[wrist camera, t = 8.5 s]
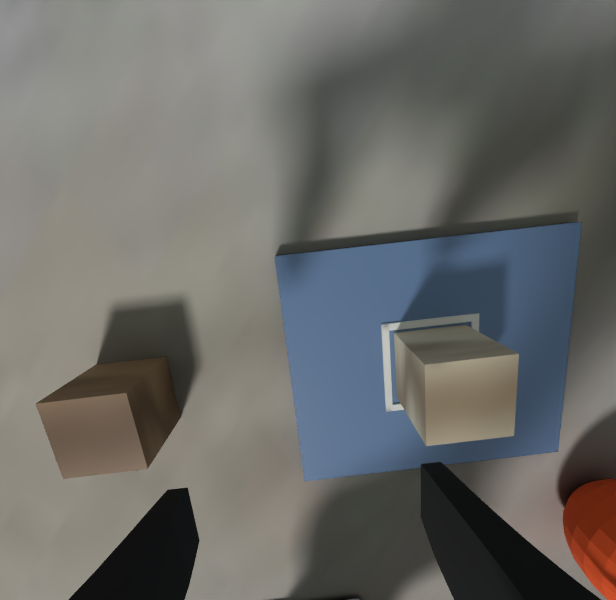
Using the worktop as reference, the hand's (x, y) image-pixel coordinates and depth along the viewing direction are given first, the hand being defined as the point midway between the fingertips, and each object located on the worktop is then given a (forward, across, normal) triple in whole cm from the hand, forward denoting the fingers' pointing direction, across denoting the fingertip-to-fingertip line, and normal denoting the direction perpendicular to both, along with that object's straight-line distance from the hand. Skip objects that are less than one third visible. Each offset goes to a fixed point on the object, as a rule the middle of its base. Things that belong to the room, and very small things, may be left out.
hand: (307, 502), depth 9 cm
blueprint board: (+8, -7, 0) cm, 11 cm away
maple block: (+8, -7, 0) cm, 11 cm away
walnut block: (+8, +10, 0) cm, 13 cm away
